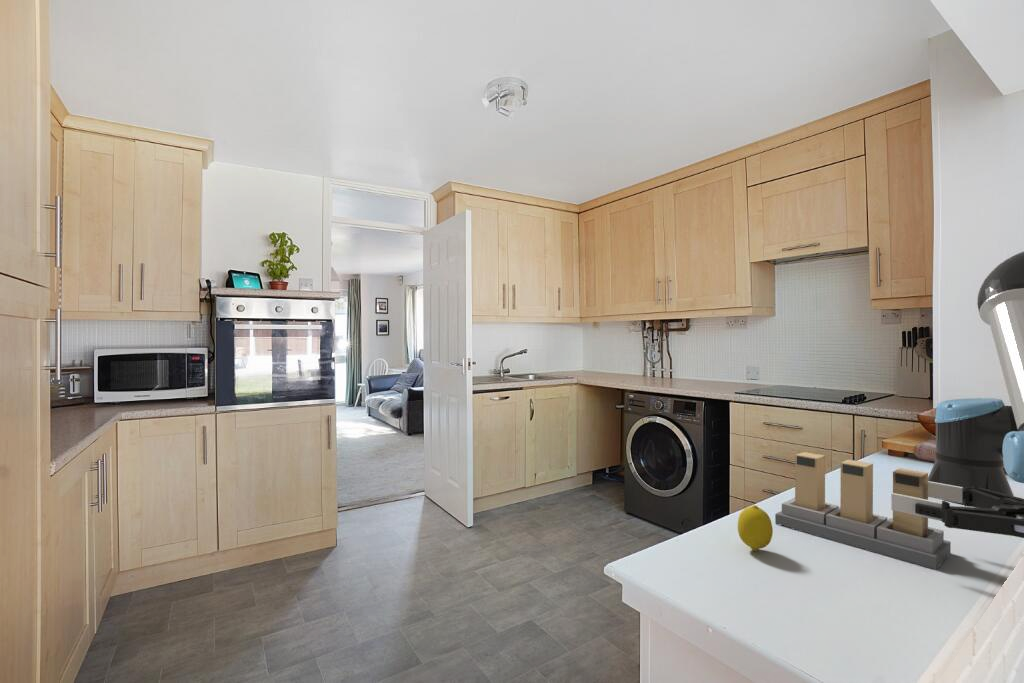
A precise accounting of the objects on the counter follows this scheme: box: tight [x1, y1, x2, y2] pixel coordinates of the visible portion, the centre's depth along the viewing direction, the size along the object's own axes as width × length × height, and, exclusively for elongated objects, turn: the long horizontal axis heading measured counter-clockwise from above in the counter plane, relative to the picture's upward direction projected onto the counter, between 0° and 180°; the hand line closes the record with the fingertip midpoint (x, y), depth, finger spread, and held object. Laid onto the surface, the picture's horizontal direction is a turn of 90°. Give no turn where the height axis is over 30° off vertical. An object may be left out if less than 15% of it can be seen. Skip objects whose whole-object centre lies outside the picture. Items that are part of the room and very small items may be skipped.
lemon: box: [737, 504, 774, 552], centre depth 86 cm, size 6×6×8 cm
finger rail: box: [774, 451, 952, 571], centre depth 92 cm, size 10×25×14 cm, turn 38°
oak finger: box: [892, 467, 929, 538], centre depth 86 cm, size 4×4×12 cm
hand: (903, 493), depth 86 cm, fingers open, 13 cm apart
